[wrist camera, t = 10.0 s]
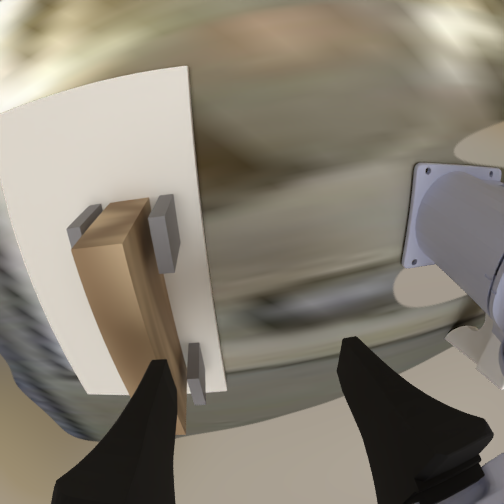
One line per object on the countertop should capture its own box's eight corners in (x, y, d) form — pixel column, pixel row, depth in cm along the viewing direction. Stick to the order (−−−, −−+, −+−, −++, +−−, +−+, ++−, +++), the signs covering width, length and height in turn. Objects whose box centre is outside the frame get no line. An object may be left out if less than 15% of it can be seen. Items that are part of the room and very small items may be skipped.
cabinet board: (188, 67, 15) (180, 56, 11) (226, 382, 26) (229, 424, 22) (-2, 116, 14) (-44, 126, 10) (90, 385, 25) (79, 423, 21)
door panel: (149, 197, 17) (122, 243, 12) (187, 371, 24) (185, 434, 18) (110, 202, 17) (70, 249, 12) (158, 372, 23) (151, 434, 18)
